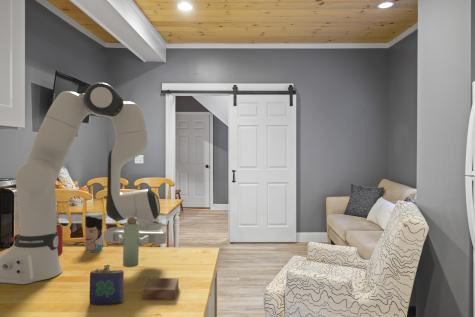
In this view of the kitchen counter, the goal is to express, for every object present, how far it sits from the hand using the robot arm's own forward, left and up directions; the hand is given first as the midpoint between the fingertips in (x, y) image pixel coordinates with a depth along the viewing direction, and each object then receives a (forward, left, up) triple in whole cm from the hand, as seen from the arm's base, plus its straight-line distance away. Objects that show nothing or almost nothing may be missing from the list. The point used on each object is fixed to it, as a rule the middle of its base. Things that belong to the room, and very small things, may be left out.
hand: (130, 241), depth 115 cm
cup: (-26, +41, -15) cm, 50 cm away
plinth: (+10, -5, -14) cm, 18 cm away
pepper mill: (0, +1, -8) cm, 8 cm away
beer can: (-40, +35, -15) cm, 55 cm away
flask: (-4, -12, -15) cm, 19 cm away
